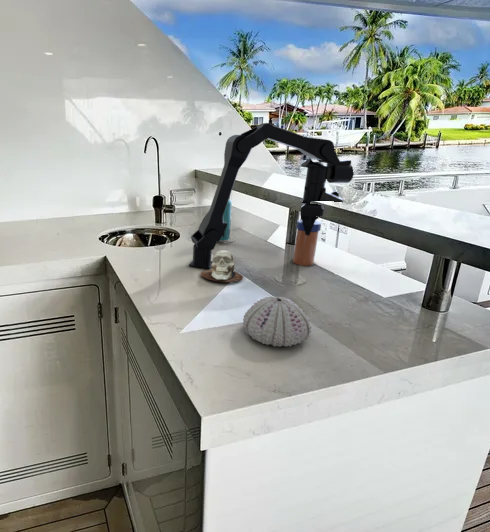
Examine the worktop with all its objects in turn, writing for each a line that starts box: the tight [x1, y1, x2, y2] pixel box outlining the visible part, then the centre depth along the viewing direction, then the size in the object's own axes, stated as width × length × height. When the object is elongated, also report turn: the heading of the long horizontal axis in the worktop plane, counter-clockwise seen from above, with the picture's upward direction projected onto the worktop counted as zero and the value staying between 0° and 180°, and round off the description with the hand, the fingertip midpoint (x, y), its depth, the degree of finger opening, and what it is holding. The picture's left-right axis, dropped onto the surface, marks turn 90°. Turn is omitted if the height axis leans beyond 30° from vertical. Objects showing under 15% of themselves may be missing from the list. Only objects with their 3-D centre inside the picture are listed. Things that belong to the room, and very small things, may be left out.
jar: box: [292, 228, 320, 267], centre depth 122 cm, size 6×6×13 cm
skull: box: [200, 249, 244, 283], centre depth 109 cm, size 12×10×10 cm
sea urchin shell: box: [242, 296, 312, 348], centre depth 77 cm, size 13×14×8 cm
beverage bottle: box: [219, 198, 233, 241], centre depth 142 cm, size 6×7×20 cm
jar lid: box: [296, 219, 322, 232], centre depth 120 cm, size 7×7×2 cm
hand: (307, 232), depth 121 cm, fingers closed on jar lid, 7 cm apart
